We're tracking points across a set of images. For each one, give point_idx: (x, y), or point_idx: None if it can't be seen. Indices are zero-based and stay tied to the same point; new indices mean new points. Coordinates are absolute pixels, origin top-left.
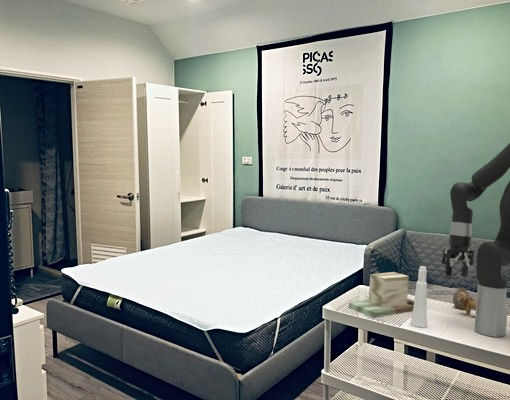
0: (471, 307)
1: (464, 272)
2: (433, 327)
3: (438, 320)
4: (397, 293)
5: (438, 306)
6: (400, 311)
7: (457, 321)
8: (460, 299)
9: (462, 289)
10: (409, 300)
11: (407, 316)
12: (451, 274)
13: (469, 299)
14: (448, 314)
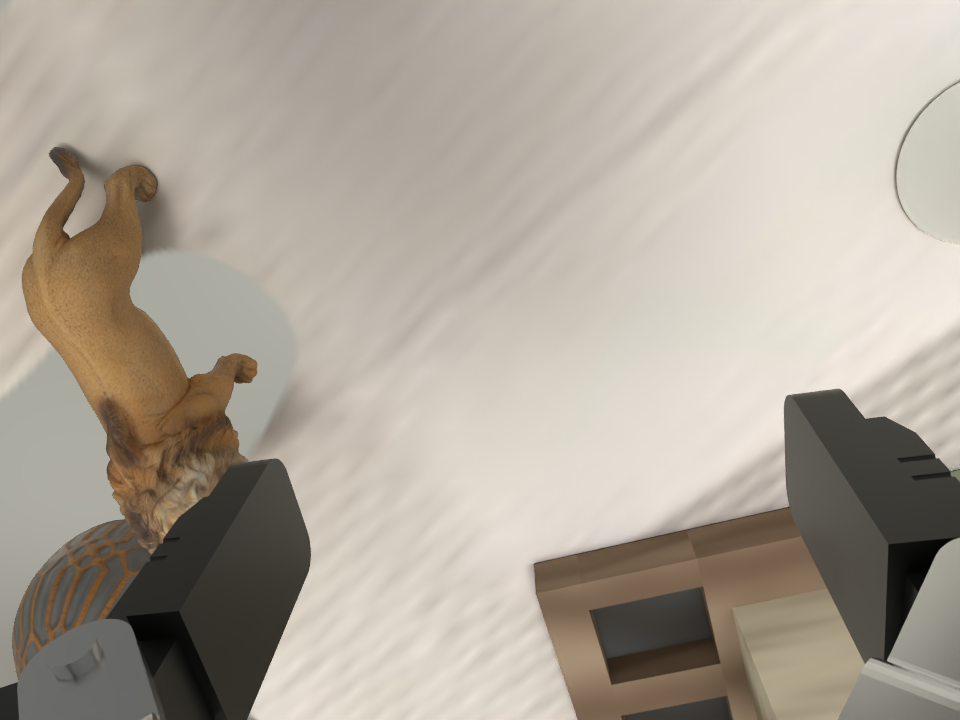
0: (179, 367)
1: (263, 546)
2: (883, 67)
3: (647, 267)
4: None
5: (346, 614)
6: None
7: (460, 218)
8: None
9: None
10: (610, 699)
11: (878, 403)
12: (802, 411)
13: (153, 441)
14: (405, 416)
